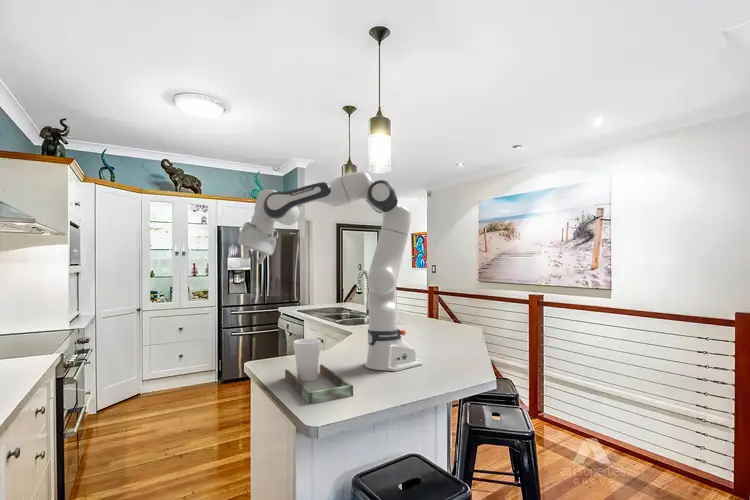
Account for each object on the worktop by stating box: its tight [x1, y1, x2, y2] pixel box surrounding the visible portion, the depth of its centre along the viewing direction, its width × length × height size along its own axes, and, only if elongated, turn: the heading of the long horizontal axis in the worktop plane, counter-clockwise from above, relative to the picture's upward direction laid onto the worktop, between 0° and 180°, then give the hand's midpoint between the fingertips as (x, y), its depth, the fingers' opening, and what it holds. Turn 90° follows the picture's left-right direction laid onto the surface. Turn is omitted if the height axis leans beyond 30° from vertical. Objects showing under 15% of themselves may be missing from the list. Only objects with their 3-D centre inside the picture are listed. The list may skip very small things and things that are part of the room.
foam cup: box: [292, 337, 322, 382], centre depth 132 cm, size 10×9×13 cm
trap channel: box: [284, 364, 354, 405], centre depth 123 cm, size 14×28×3 cm, turn 28°
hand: (252, 261), depth 150 cm, fingers open, 8 cm apart
